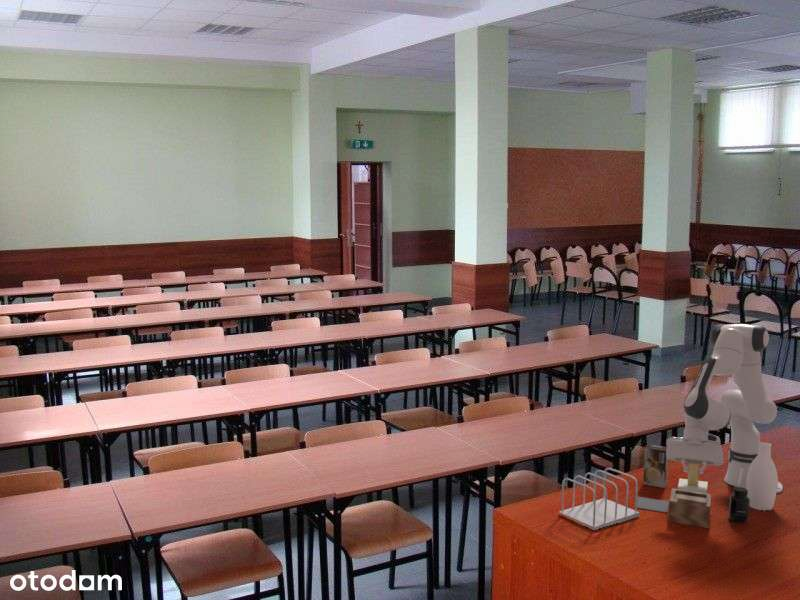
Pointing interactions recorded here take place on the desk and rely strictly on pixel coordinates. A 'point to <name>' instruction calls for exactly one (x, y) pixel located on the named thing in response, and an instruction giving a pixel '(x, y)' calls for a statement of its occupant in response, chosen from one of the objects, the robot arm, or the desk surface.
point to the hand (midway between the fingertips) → (693, 472)
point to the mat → (652, 504)
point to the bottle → (762, 479)
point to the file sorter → (600, 504)
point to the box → (689, 508)
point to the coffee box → (655, 466)
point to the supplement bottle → (739, 505)
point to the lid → (693, 480)
